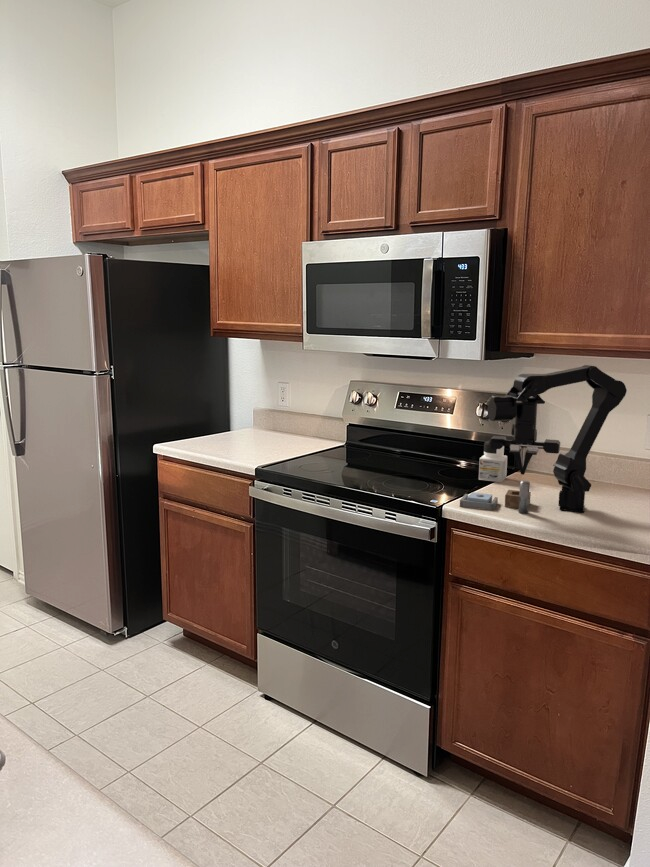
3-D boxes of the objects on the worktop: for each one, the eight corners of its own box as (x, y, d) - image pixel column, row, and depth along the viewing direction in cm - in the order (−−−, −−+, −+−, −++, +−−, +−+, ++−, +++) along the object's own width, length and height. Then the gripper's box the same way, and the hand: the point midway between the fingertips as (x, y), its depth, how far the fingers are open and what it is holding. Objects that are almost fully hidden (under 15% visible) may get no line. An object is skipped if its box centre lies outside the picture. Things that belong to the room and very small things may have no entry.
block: (491, 504, 196) (492, 494, 195) (487, 509, 190) (488, 499, 190) (471, 501, 198) (472, 491, 198) (467, 507, 193) (467, 497, 192)
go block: (530, 503, 196) (530, 491, 195) (527, 509, 190) (528, 497, 189) (507, 500, 198) (508, 489, 197) (504, 506, 192) (505, 495, 192)
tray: (497, 503, 196) (497, 497, 195) (493, 510, 189) (493, 504, 188) (465, 499, 200) (465, 493, 199) (459, 506, 192) (459, 500, 192)
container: (478, 479, 223) (480, 442, 220) (484, 474, 229) (485, 438, 227) (501, 482, 219) (503, 444, 217) (506, 477, 226) (508, 440, 224)
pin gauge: (528, 511, 187) (530, 481, 186) (527, 514, 185) (529, 483, 183) (519, 510, 188) (520, 480, 187) (517, 513, 186) (519, 482, 184)
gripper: (563, 417, 186) (559, 470, 189) (496, 413, 194) (493, 465, 197) (560, 423, 176) (556, 480, 179) (489, 419, 184) (487, 473, 187)
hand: (522, 474), depth 186 cm, fingers closed
